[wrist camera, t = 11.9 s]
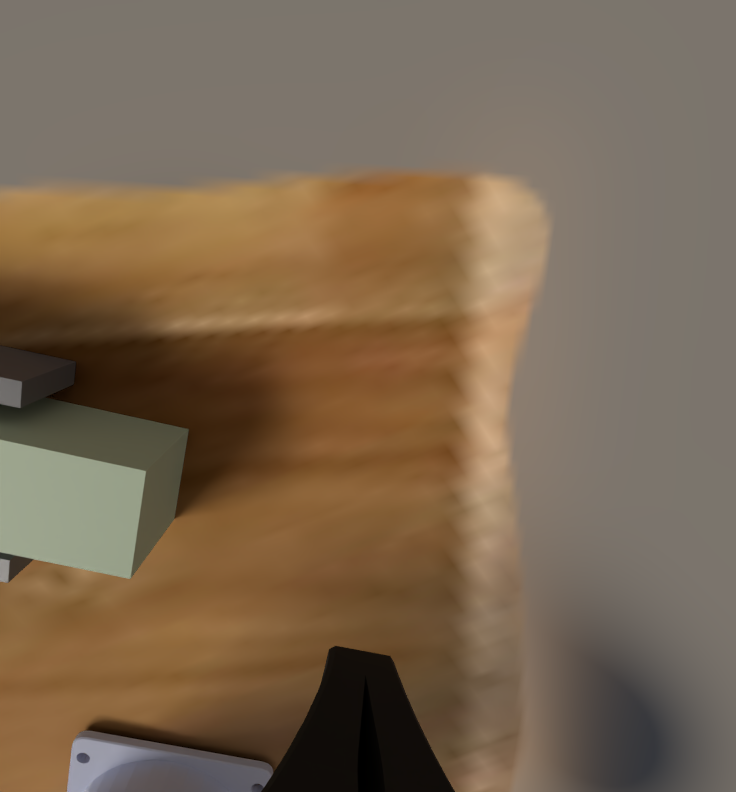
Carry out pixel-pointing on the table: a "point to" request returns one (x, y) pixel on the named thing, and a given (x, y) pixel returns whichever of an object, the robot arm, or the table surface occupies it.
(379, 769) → the robot arm
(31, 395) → the dark grey piece
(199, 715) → the table surface
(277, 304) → the table surface
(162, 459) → the rectangular block
